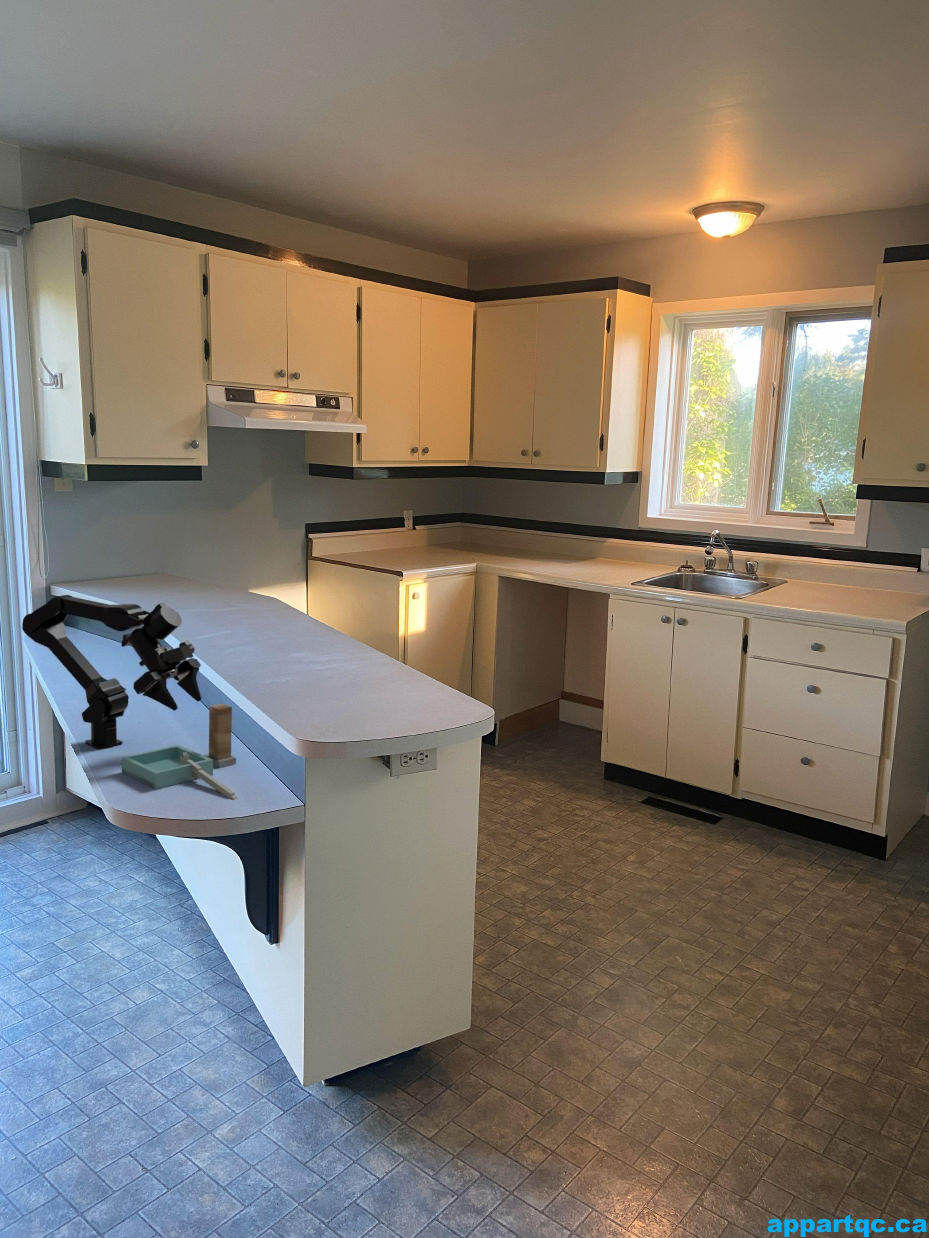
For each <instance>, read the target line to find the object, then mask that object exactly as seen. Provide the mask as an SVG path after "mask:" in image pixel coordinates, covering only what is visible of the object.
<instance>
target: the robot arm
mask: <svg viewBox="0 0 929 1238" xmlns="http://www.w3.org/2000/svg"><path fill="white" fill-rule="evenodd" d="M69 615H70V616H74V617H78V618H84V619H87V620H93V621H97V622H101V623H103V624H104V625H105V626H106V627H107V628H110V629H111V630H115V631H116V632H125V631H129V630H132V631H131V633H130V632H129V633H127V634H123V635H122V641H121V644H120V646H121V647H122V648H123V647H128V646H131V647H132V649H133V650H134V652H135V653H136V654H137V656H138V658H139V659H140V660H141V661H139V662H138V664H139V666H140V667H144V666H145V667H146V670H148V671H145V672H144V673H143V674H142V675H141V676H140V677H139V678H137V679H136V680H135V681H134V682H133V690H134V691H135V693H136V694H137V696H139V695H142V696H143V697H147V698H149V699H152V700H154V701H156V702H158V703H159V704H161V705H164V706H165V707H166V708H168V709H170V710H172V711H177V710H178V709H179V707H178V704H177V702H176V700H175V699H174V697H173V696H172V693H170V691H169V689H168V686H167V680H168V679H172V678H173V679H174V680H175V681H177V683H176V685H178V687H180V688H181V689H182V690H184V692H186V693H187V695H189V696H190V697H191V698H192V699H194V700H195V701H196V702H200V701H201V700H202V696H201V692H200V688H199V685H198V681H197V675H198V672H199V671H200V667H201V666H202V664H201V663H200V661H199V660H198V659H197V658H195V657H194V653H195V649H196V648H195V646H193V644H192V643H191V642H190V641H189V640H187V641H183V642H180V643H179V645H178V647H175V648H172V649H171V647H170V646H168V645H166V646H163V644H162V643H161V640H165V639H166V638H168V637H169V636H170V635H171V634H172V633H173V632H174V631H176V630H177V629H178V628H179V627H180V626H181V625H182V622H183V620H182V616H181V615H180V614H179V612H178V611H176V610H174V609H173V608H171V607H170V606H167V605H166V603H164V602H161V603H158V604H157V605H155V607H154V608H153V609H152V610H151V612H150V611H147V610H144V609H142V607H141V605H139V604H136V603H121V604H118V603H117V604H108V603H103V602H98V601H93V600H89V599H84V598H79V597H75V596H72V595H70V594H63V595H56V596H53V597H52V598H51V599H49V601H48V602H47V603H45V604H43V605H41V606H40V607H38V608H36V609H34V610H33V611H32V612H31V613H28V614H26V615H25V616H23V619H22V624H21V626H22V627H21V628H22V631H23V633H24V634H25V635H26V636H28V638H30V639H31V640H32V641H33V642H35V643H37V644H38V645H41V646H43V647H46V648H47V649H48V650H50V652H51V653H52V654H53V655H54V657H56V659H57V660H58V661H59V662H60V663H61V664H62V666H63V667H64V669H66V670H67V672H68V673H69V674H71V676H72V677H73V678H74V679H75V680H76V682H77V683H78V684H79V685H80V687H82V688H83V690H84V692H85V698H86V703H87V704H88V706H87V708H85V709H84V710H83V712H82V713H81V716H82V720H83V722H84V723H88V724H90V739H86V740H84V743H85V744H87V745H89V746H92V747H93V748H95V749H104V748H108V747H113V746H118V745H119V746H120V745H123V743H124V742H123V741H122V740H120V739H118V737H117V736H118V735H117V733H118V732H117V731H118V729H117V718H120V717H123V716H124V714H125V711H126V710H127V708H128V707H129V698H130V697H129V695H128V693H127V692H126V691H127V688H125V687H124V686H122V685H121V683H120V681H119V679H118V680H117V678H116V677H113V678H110V679H106V678H105V677H103V676H102V675H101V674H100V673H99V672H98V671H97V669H96V668H95V666H93V665H92V663H91V662H90V661H89V660H88V659H87V658H86V657H85V655H83V652H81V651H80V650H79V649H78V648H77V646H75V644H74V642H72V641H71V640H70V639H69V637H68V636H67V633H66V626H65V624H64V622H65V620H67V619H68V617H69ZM133 629H134V630H133Z"/></svg>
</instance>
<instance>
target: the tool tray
mask: <svg viewBox="0 0 929 1238" xmlns="http://www.w3.org/2000/svg"><path fill="white" fill-rule="evenodd" d="M184 752H187V755H188V754H190V757H189V760H192V761H193V762H195V763H196V764H198V765H199V766H200V767H202V770H203V771H205V772H206V773H208V774H209V775H210V776H212V775H214V765H213V760H212V759H210V758H208V757H205V756H204V755H203V754H201V753H198V752H196V751H194V750H191V749H189V748H187V747H184V746H181V745H179V744H176V745H172V746H166V747H163V748H162V747H161V748H157V749H153V750H148V751H145V752H139V753H134V754H130V755H126V756H122V757H121V773H122V772H123V773H122V774H124V773H125V774H124V775H126V776H128V775H129V777H130V778H132V777H133V779H134V780H136V779H137V781H138V782H141V783H143V784H144V783H145V784H144V785H146V784H147V786H149V787H151V788H153V789H155V790H159V789H163V788H167V787H171V786H175V785H177V784H182V783H186V782H190V781H193V780H197V779H196V778H195V777H193V776H192V765H191V764H186V765H182V766H179V763H180V757H181V756H182V753H184Z"/></svg>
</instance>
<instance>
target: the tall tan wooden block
mask: <svg viewBox="0 0 929 1238" xmlns="http://www.w3.org/2000/svg"><path fill="white" fill-rule="evenodd" d="M232 708H233V706H230V705H227V704H225V703H219V704H214V705H210V706H209V708H208V711H209V712H208V717H209V718H208V753H207V754H204V755H203V756H205V757H208V758H210V759H212V760H213V767H217V768H219V769H222V768H225V767H230V766H233V765H237V757H236V756H233V755H232V730H233V729H232V728H233V727H232V723H233V722H232V720H233V717H232V715H233V711H232V710H233V709H232Z"/></svg>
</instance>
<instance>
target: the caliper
mask: <svg viewBox="0 0 929 1238" xmlns="http://www.w3.org/2000/svg"><path fill="white" fill-rule="evenodd" d="M189 757H190V754H188V755H187V752H184V753H182V756H181V757H180V763H179V766H182V765H186V764H191V765H192V776H193V777H195V778H196V779H195V780H197V779H199V780H202V782H204V783H206V784H208V785H209V786H210V787H212V788H213V789H214V790H216V791H217V792H218V793H220V794H221V795H223V796H225V797H227V798H229V799H231V800H233V801H235V799H236V800H238V799H239V798H238V796H237V794H235V792H234V790H232V789H230V788H229V787H228V786H226V785H224V784H223V782H220V781H219V780H218V779H216V778H214V776H212V775H209V774H208V773H206V772H205V771H203V770H202V767H200V766H199V765H198V764H196V763H195V762H193V761H192V760H189Z"/></svg>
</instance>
